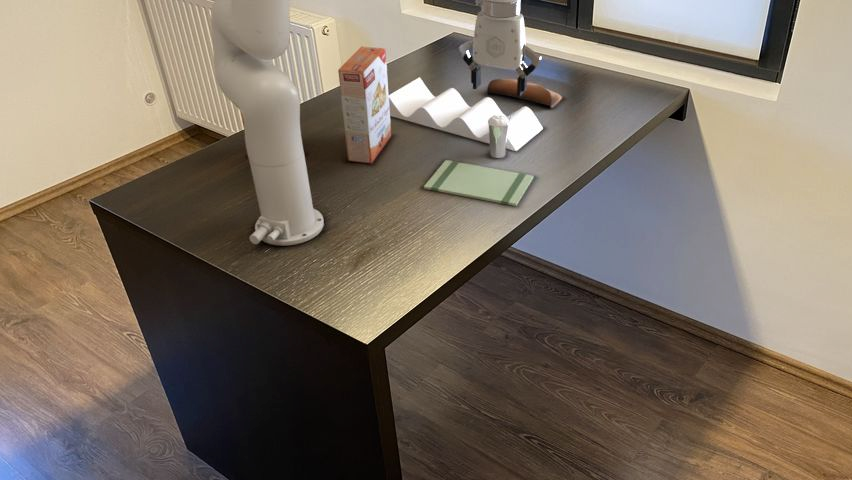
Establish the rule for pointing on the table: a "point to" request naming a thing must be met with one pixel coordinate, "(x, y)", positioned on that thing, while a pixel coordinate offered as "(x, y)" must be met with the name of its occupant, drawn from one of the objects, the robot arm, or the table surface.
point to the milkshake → (498, 135)
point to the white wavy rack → (460, 114)
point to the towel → (479, 182)
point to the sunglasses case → (531, 93)
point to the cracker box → (365, 103)
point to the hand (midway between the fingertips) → (498, 90)
